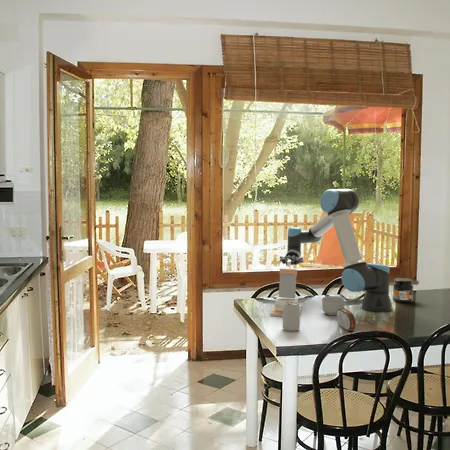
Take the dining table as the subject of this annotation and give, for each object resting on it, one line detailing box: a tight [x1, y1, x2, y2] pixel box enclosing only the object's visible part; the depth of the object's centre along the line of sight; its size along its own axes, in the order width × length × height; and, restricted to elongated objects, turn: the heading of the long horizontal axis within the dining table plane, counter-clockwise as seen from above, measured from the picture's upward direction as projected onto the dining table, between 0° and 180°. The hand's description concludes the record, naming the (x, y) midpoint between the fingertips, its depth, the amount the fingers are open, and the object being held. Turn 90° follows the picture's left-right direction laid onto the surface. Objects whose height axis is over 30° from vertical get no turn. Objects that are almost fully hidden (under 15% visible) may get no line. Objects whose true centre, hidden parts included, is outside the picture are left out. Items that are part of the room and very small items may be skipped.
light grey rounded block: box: [321, 295, 345, 316], centre depth 273 cm, size 14×11×8 cm
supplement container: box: [392, 277, 414, 304], centre depth 301 cm, size 10×10×12 cm
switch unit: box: [269, 296, 303, 318], centre depth 274 cm, size 18×14×6 cm
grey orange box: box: [278, 268, 298, 298], centre depth 277 cm, size 3×9×14 cm, turn 78°
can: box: [282, 302, 301, 333], centre depth 243 cm, size 8×8×12 cm
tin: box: [336, 307, 357, 332], centre depth 245 cm, size 15×3×8 cm, turn 12°
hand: (288, 264), depth 283 cm, fingers closed
